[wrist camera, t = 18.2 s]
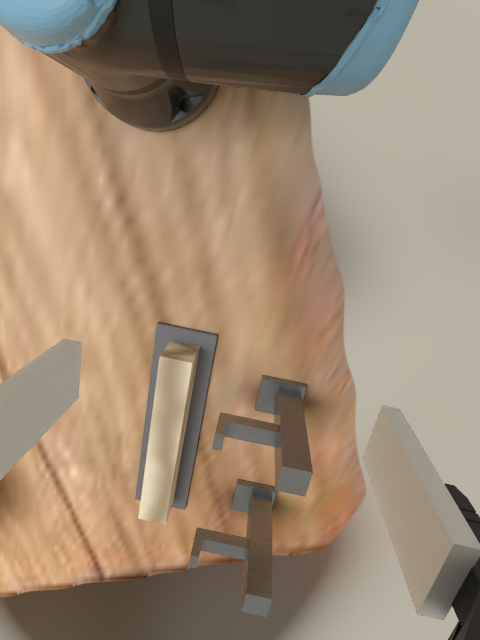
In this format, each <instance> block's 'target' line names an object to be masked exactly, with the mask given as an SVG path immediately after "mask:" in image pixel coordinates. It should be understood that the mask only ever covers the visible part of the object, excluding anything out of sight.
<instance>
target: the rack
mask: <svg viewBox="0 0 480 640" xmlns="http://www.w3.org/2000/svg"><path fill="white" fill-rule="evenodd" d="M306 388H307V387H306V384H303V383H298V382H293V381H288V380H284V379H279V378H274V377H269V376H264V375H262V380H261V384H260V388H259V392H258V396H257V401H256V405H255V410H256V411H261V412H266V413H270V414H274V424H273V423H269V422H264V421H259V420H254V419H250V418H245V417H240V416H235V415H231V414H226V413H221V412H220V415H219V420H218V424H217V428H216V433H215V437H214V442H213V447H212V449H216V450H222V445H223V440H224V436H225V437H230V438H235V439H239V440H244V441H249V442H254V443H258V444H263V445H268V446H273V447H275V487H273V486H268V485H264V484H259V483H254V482H250V481H245V480H240V479H238V481H237V485H236V489H235V493H234V498H233V502H232V508H231V509H233V510H237V511H242V512H247V513H248V522H247V535H246V538H244V537H239V536H234V535H230V534H225V533H221V532H216V531H211V530H207V529H202V528H197V529H196V534H195V538H194V543H193V547H192V552H191V557H190V562H189V566H188V567H192V568H197V563H198V558H199V553H200V550H201V551H206V552H210V553H215V554H220V555H224V556H229V557H234V558H238V559H243V560H245V563H244V577H243V591H242V605H241V612H245V613H251V614H255V615H259V616H264V617H267V614H268V611H269V608H270V605H271V602H272V507H273V504H274V500H275V497H276V493H277V491H281V492H286V493H290V494H295V495H300V496H305V495H306V492H307V489H308V486H309V483H310V480H311V477H312V474H313V471H312V464H311V457H310V450H309V444H308V437H307V430H306V423H305V417H304V410H303V403H302V402H303V399H304V395H305V392H306Z"/></svg>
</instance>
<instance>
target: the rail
mask: <svg viewBox="0 0 480 640" xmlns="http://www.w3.org/2000/svg"><path fill="white" fill-rule="evenodd" d="M199 348H200V347H199V346H194V345H189V344H185V343H180V342H175V341H170V342H169V343H168V345H167V346H166V347H165V349H164V350H163V352H162V353H161V355H160V357H159V365H158V372H157V380H156V388H155V395H154V403H153V411H152V418H151V426H150V434H149V441H148V449H147V457H146V464H145V472H144V479H143V487H142V495H141V502H140V510H139V518H138V519H143V520H148V521H152V522H157V523H162V524H166V522H167V519H168V516H169V512H170V509H171V506H172V503H173V500H174V496H175V490H176V484H177V478H178V472H179V467H180V461H181V455H182V449H183V443H184V437H185V431H186V425H187V419H188V413H189V407H190V402H191V396H192V390H193V384H194V378H195V372H196V366H197V360H198V354H199Z"/></svg>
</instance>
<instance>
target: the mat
mask: <svg viewBox="0 0 480 640" xmlns="http://www.w3.org/2000/svg"><path fill="white" fill-rule="evenodd" d="M217 335H218V334H214V333H209V332H204V331H199V330H194V329H190V328H185V327H180V326H175V325H170V324H166V323H161V322H158V323H157V329H156V337H155V346H154V354H153V362H152V370H151V378H150V386H149V394H148V402H147V410H146V418H145V426H144V434H143V442H142V450H141V458H140V466H139V474H138V482H137V490H136V498H135V499H137V500H141V495H142V487H143V479H144V472H145V464H146V457H147V449H148V441H149V434H150V426H151V418H152V411H153V403H154V395H155V388H156V380H157V372H158V365H159V357H160V355H161V353H162V352H163V350H164V349H165V347H166V346H167V345H168V343H169V342H170V341H175V342H180V343H185V344H189V345H194V346H199V347H200V348H199V354H198V360H197V366H196V372H195V378H194V384H193V390H192V396H191V402H190V407H189V413H188V419H187V425H186V431H185V437H184V443H183V449H182V455H181V461H180V467H179V472H178V478H177V484H176V490H175V496H174V500H173V503H172V506H171V507H174V508H179V509H183V510H185V508H186V504H187V498H188V493H189V487H190V482H191V476H192V471H193V466H194V460H195V455H196V449H197V444H198V438H199V433H200V428H201V422H202V417H203V411H204V406H205V401H206V395H207V390H208V384H209V379H210V373H211V368H212V363H213V357H214V352H215V346H216V341H217Z"/></svg>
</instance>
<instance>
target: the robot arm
mask: <svg viewBox="0 0 480 640" xmlns="http://www.w3.org/2000/svg"><path fill="white" fill-rule="evenodd" d="M418 1H419V0H0V25H2V26H3V27H4V28H5V29H6V30H8V31H9V32H10V34H11V35H12V36H13V37H15V38H17V39H18V40H19V41H20V42H21V43H23V44H26V46H28V47H29V48H32V49H36V50H38V51H40V52H42V53H43V54H45V55H47V56H49V57H50V58H52V59H54V60H55V61H57V62H59V63H60V64H62V65H64V66H65V67H67V68H69V69H70V70H72V71H74V72H76V73H77V74H79V75H81V76H82V77H84V79H85V81H86V83H87V85H88V87H89V89H90V90H91V92H92V93H93V95H94V96H95V97H96V99H97V100H98V101H99V102H100V103H101V104H102V106H103V107H105V108H106V109H107V110H108V111H109V112H110V113H111V114H112V115H114V116H115V117H117V118H118V119H120V120H122V121H124V122H125V123H128V124H130V125H132V126H134V127H136V128H139V129H143V130H147V131H155V132H162V131H169V130H174V129H177V128H180V127H182V126H184V125H186V124H188V123H190V122H191V121H193V120H194V119H195V118H196V117H198V116H199V115H200V114H201V113H202V112H203V111H204V110H205V109H206V107H207V106H208V105H209V103H210V102H211V100H212V99H213V97H214V95H215V93H216V91H217V89H218V87H219V85H223V86H232V87H241V88H250V89H259V90H268V91H277V92H286V93H295V94H296V95H298V96H300V97H306V96H308V97H310V96H313V95H315V94H317V95H337V96H347V95H349V94H353V93H356V92H357V91H360V90H362V89H363V88H365V87H366V86H367V85H368V84H369V83H371V81H373V80H374V79H375V77H376V76H377V75H378V74H379V73H380V71H381V70H382V68H383V67H384V66H385V64H386V63H387V62H388V60H389V58H390V57H391V55H392V53H393V52H394V50H395V48H396V46H397V44H398V43H399V41H400V39H401V37H402V35H403V33H404V31H405V29H406V27H407V25H408V23H409V21H410V19H411V17H412V15H413V12H414V10H415V8H416V6H417V3H418ZM81 343H82V342H78V341H73V340H68V339H63V340H62V341H60V342H59V343H57V344H56V345H55V346H53V347H52V348H50V349H49V350H47V351H46V352H45V353H43V354H42V355H40V356H39V357H38V358H36V359H35V360H33V361H32V362H31V363H29V364H28V365H26V366H25V367H23V368H22V369H21V370H19V371H18V372H16V373H15V374H14V375H12V376H11V377H9V378H8V379H7V380H5V381H4V382H2V383H1V384H0V481H1V479H2V478H3V477H4V476H5V475H6V474H7V473H8V472H9V471H10V470H11V469H12V468H13V467H14V466H15V465H16V463H17V462H18V461H19V460H20V459H21V458H22V457H23V456H24V455H25V454H26V453H27V452H28V451H29V450H30V449H31V447H32V446H33V445H34V444H35V443H36V442H37V441H38V440H39V439H40V438H41V437H42V436H43V435H44V434H45V433H46V432H47V430H48V429H49V428H50V427H51V426H52V425H53V424H54V423H55V422H56V421H57V420H58V419H59V418H60V417H61V416H62V414H63V413H64V412H65V411H66V410H67V409H68V408H69V407H70V406H71V405H72V404H73V403H74V402H75V401H76V400H77V398H78V397H79V381H80V362H81ZM363 459H364V462H365V465H366V468H367V471H368V474H369V476H370V479H371V482H372V485H373V488H374V491H375V494H376V497H377V500H378V503H379V505H380V508H381V511H382V514H383V517H384V520H385V523H386V526H387V528H388V531H389V534H390V537H391V540H392V543H393V546H394V548H395V551H396V555H397V557H398V560H399V563H400V566H401V569H402V572H403V575H404V578H405V581H406V584H407V586H408V589H409V592H410V595H411V598H412V601H413V604H414V606H415V610H416V613H417V614H418V615H422V616H427V617H431V618H436V619H441V620H444V619H445V617H446V616H447V614H448V612H449V610H450V608H451V607H452V606H453V608H454V610H455V613H456V615H457V617H458V620H459V622H458V623H457V625H456V627H455V629H454V630H453V632H452V634H451V635H450V637H449V639H448V640H480V517H479V516H478V514H476V511H475V509H474V508H473V506H472V505H471V503H470V502H469V500H468V499H467V497H466V496H464V495H463V494H462V493H461V492H460V491H459V490H458V489H457V488H456V487H455V486H454V485H449V484H444V483H443V481H442V479H441V478H440V476H439V474H438V473H437V471H436V469H435V467H434V466H433V464H432V462H431V461H430V459H429V458H428V456H427V454H426V452H425V451H424V449H423V447H422V446H421V444H420V442H419V440H418V439H417V437H416V435H415V434H414V432H413V430H412V429H411V427H410V425H409V424H408V422H407V420H406V419H405V417H404V415H403V413H402V412H401V410H400V409H397V408H393V407H388V406H382V407H381V410H380V412H379V415H378V418H377V421H376V423H375V426H374V429H373V431H372V434H371V437H370V439H369V443H368V445H367V448H366V451H365V453H364V456H363Z"/></svg>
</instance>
